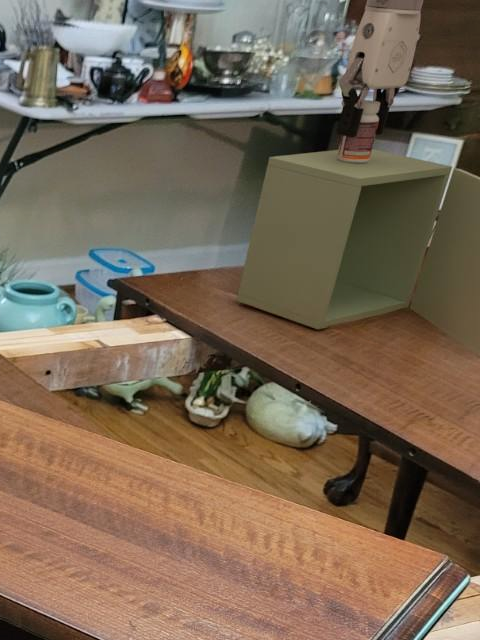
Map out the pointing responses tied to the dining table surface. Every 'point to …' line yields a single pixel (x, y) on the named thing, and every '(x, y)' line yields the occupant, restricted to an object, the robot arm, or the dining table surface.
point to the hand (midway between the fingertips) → (359, 133)
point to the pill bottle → (361, 136)
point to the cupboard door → (454, 265)
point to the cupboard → (340, 235)
